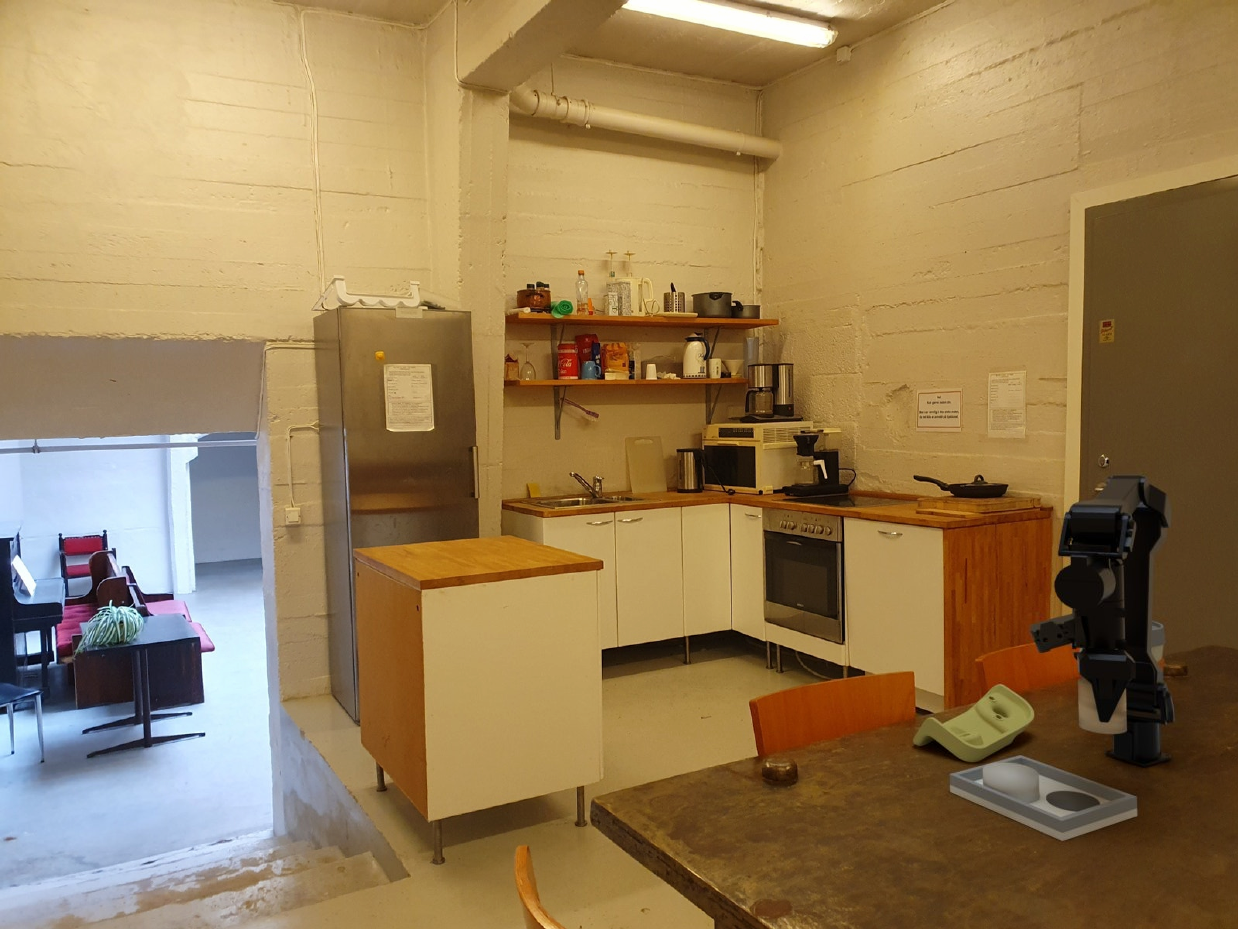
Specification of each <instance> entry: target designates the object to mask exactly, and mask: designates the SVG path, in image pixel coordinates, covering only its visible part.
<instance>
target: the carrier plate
mask: <svg viewBox="0 0 1238 929" xmlns="http://www.w3.org/2000/svg"><path fill="white" fill-rule="evenodd" d="M949 791H950V793H952V794H954V795H956V796H959V797H961V798H963V799H965V800H968V801H970V802H973V803H974V804H977V805H980V806H982V807H983V808H985V809H989V810H991V811H992V812H995V813H998V814H999V815H1002V816H1004V817H1007V818H1009V819H1012V820H1014V821H1016V822H1018V823H1020V824H1022V825H1025V826H1027V827H1030V828H1032V829H1034V830H1036V831H1038V832H1040V833H1043V834H1045V835H1048V836H1050V837H1053V838H1054V839H1057V840H1060V841H1061V842H1064V841H1066V840H1069V839H1073V838H1076V837H1078V836H1082V835H1084V834H1087V833H1090V832H1095V831H1096V830H1101V829H1102V828H1105V827H1108V826H1111V825H1115V824H1117V823H1120V822H1123V821H1127V820H1129V819H1132V818H1136V817H1138V796H1136V795H1133V794H1131V793H1127V792H1125V791H1123V790H1122V791H1121V790H1119V789H1118V788H1117V789H1116V788H1113V787H1111V786H1108V785H1106V784H1102V783H1100V782H1097V781H1094V780H1091V779H1088V778H1086V777H1083V776H1080V775H1078V774H1077V775H1076V774H1075V773H1072V772H1069V771H1066V770H1064V769H1061V768H1057V767H1055V766H1053V765H1049V764H1047V763H1044V762H1041V761H1039V760H1035V759H1032V758H1029V757H1027V756H1024V755H1021V754H1020V755H1016V756H1012V757H1008V758H1005V759H1001V760H998V761H994V762H991V763H990V762H989V763H987V764H983V765H979V766H974V767H971V768H968V769H967V768H966V769H965V770H964V769H963V770H961V771H957V772H952V773H949Z"/></svg>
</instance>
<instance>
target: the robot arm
mask: <svg viewBox="0 0 1238 929" xmlns="http://www.w3.org/2000/svg"><path fill="white" fill-rule="evenodd" d="M1172 512H1173V511H1172V506H1171V503H1170V500H1169V497H1168V494H1167V493H1166V492H1164V491H1162V490H1161V489H1160V488H1158V487H1156V486H1154V485H1152V484H1151V483H1150V481H1149V478H1148V476H1146V475H1145V476H1143V475H1142V474H1113V475H1112V476H1108V477H1107V479H1106V484H1105V485H1104V487H1103V488H1102V489H1101V491H1100V492H1099V493H1098V494H1096V496H1095V497H1094V498H1093V499H1091V500H1089V499H1088V500H1082V501H1078V502H1075V503H1073V504H1071V506H1070V507H1069V509H1068V511H1066V512H1064V516H1063V522H1062V527H1061V532H1060V539H1059V544H1058V550H1057V555H1058V557H1065V558H1066V557H1067V558H1070V564H1069V565H1067V566H1063V568H1061V570H1059V571H1058V573H1057V575H1056V576H1055V579H1054V582H1053V583H1054V584H1053V588H1054V593H1055V595H1056V596H1057V598H1058V600H1059V601H1060V602H1061V603H1062V604H1063V605H1064V606H1067V607H1068V608H1070V609H1071V613H1069V614H1065V615H1061V616H1056V617H1053V618H1049V619H1046V620H1043V621H1042V620H1041V621H1040V622H1035V623H1033V624H1031V625H1029V626H1028V628H1029V631H1030V632H1029V633H1030V635H1031V637H1032V639H1033V642H1034V644H1035V647H1036V649H1037V651H1038V653H1039V654H1044V653H1049V652H1051V650H1054V649H1056V648H1060V647H1065V646H1068V645H1070V647H1071V650H1077V648H1079V651H1078V652H1077V651H1073V652H1072V655H1073V658H1074V659H1075V660H1076V661H1077V671H1078V674H1079V676H1080V677H1081V678H1085V679H1086V680H1087V681H1088V682H1089V683H1090V684H1091V686H1092V691H1093V695H1094V700H1095V704H1096V709H1097V713H1098V717H1099V721H1100V722H1104V723H1108V722H1109V721H1110V719H1111V717H1112V715H1113V713H1114V711H1115V709H1116V707H1117V705H1118V702H1119V700H1120V698H1121V696H1122V694H1123V692H1124V691H1125V689H1126V718H1127V731H1126V732H1124V733H1119V734H1112V735H1113V736H1112V737H1113V740H1112V741H1113V742H1112V743H1113V745H1112V746H1113V747H1112V748H1110V749H1106V750H1104V753H1105V755H1107V756H1110V757H1113V758H1114V759H1119V760H1121V761H1125V762H1128V763H1132V764H1134V765H1137V766H1141V767H1149V766H1152V765H1155V764H1159V763H1162V762H1166V761H1169V760H1171V759H1172V755H1171V754H1168V753H1165V752H1162V730H1161V728H1162V727H1161V725H1163V726H1166V725H1167V724H1170V723H1172V724H1173V723H1175V707H1174V703H1173V698H1172V693H1171V692H1170V691H1169V688H1168V686H1167V683H1166V682H1164V670H1163V671H1162V669H1161V668H1160V666H1159V664H1158V663H1157V661H1156V660H1155V658H1154V656H1153V655H1152V653H1151V648H1152V621H1153V605H1154V602H1153V601H1154V570H1155V569H1154V568H1155V556H1156V554H1157V553H1158V551H1159V550H1160V549H1161V548H1162V546H1163V545H1164V544H1165V542H1166V541H1167V537H1168V536H1167V534H1168V529H1170V528H1171V526H1172V522H1173V520H1172V519H1173V513H1172Z"/></svg>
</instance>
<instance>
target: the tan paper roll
mask: <svg viewBox="0 0 1238 929" xmlns="http://www.w3.org/2000/svg"><path fill="white" fill-rule="evenodd" d="M1077 691H1078V692H1077V695H1078V699H1077V700H1078V726H1079V727H1080V728H1081V729H1082V730H1085V731H1089V732H1093V733H1097V734H1105V735H1113V734H1119V733H1124V732H1126V731H1127V718H1126V689H1125V691H1124V692H1123V694H1122V696H1121V698H1120V700H1119V702H1118V705H1117V707H1116V709H1115V711H1114V713H1113V715H1112V717H1111V719H1110V721H1109V722H1108V723H1104V722H1100V721H1099V717H1098V713H1097V709H1096V704H1095V700H1094V695H1093V691H1092V686H1091V684H1090V683H1089V682H1088V681H1087V680H1086V679H1085V678H1084V677H1081V678H1079V679H1077Z"/></svg>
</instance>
